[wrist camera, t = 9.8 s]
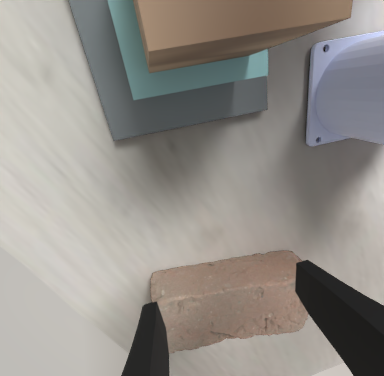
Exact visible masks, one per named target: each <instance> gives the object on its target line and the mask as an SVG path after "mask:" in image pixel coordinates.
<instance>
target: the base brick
mask: <svg viewBox="0 0 384 376" xmlns="http://www.w3.org/2000/svg"><path fill="white" fill-rule="evenodd" d="M108 4H109V8H110V12H111V16H112V19H113V23H114V27H115V31H116V35H117V39H118V42H119V46H120V50H121V54H122V58H123V61H124V65H125V69H126V73H127V77H128V81H129V84H130V88H131V92H132V96H133V100H138V99H143V98H149V97H154V96H159V95H165V94H170V93H176V92H181V91H186V90H192V89H197V88H202V87H208V86H213V85H218V84H224V83H229V82H234V81H240V80H245V79H250V78H256V77H261V76H267V75H268V49H266V50H263V51H260V52H258V53H255V54H252V55H250V56H245V57H239V58H233V59H228V60H222V61H216V62H211V63H205V64H199V65H194V66H188V67H182V68H177V69H171V70H165V71H160V72H154V73H149V70H148V66H147V61H146V57H145V53H144V48H143V44H142V39H141V35H140V30H139V26H138V21H137V17H136V12H135V8H134V3H133V0H108Z"/></svg>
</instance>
